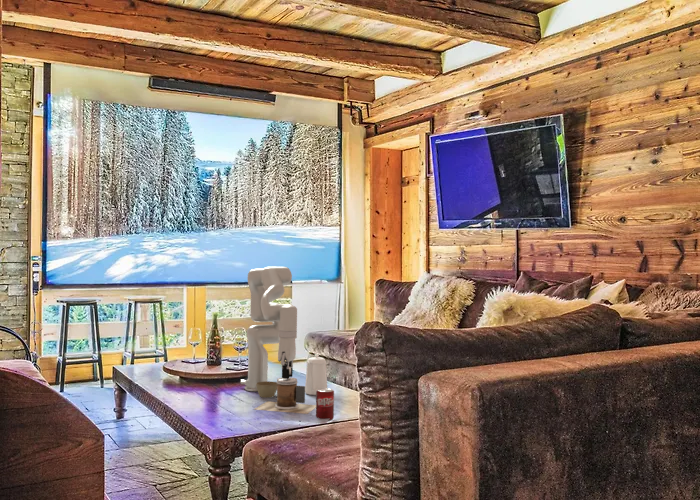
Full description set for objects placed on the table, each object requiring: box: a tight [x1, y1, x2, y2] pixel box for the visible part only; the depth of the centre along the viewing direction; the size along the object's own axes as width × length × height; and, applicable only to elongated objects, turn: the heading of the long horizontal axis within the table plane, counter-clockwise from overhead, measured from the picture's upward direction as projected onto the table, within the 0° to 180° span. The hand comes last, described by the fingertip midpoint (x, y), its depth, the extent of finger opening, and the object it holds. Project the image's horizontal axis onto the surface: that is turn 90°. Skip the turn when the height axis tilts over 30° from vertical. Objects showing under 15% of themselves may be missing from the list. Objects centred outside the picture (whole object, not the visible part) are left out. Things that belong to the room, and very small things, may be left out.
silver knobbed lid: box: [276, 367, 298, 383], centre depth 284 cm, size 9×9×6 cm
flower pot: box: [256, 380, 277, 399], centre depth 305 cm, size 10×10×7 cm
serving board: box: [253, 400, 316, 415], centre depth 284 cm, size 24×16×1 cm, turn 76°
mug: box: [275, 381, 306, 410], centre depth 283 cm, size 13×10×11 cm
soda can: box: [315, 387, 335, 422], centre depth 269 cm, size 7×7×12 cm
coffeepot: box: [304, 353, 328, 396], centre depth 318 cm, size 11×25×19 cm, turn 168°
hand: (287, 377), depth 284 cm, fingers closed on silver knobbed lid, 3 cm apart
